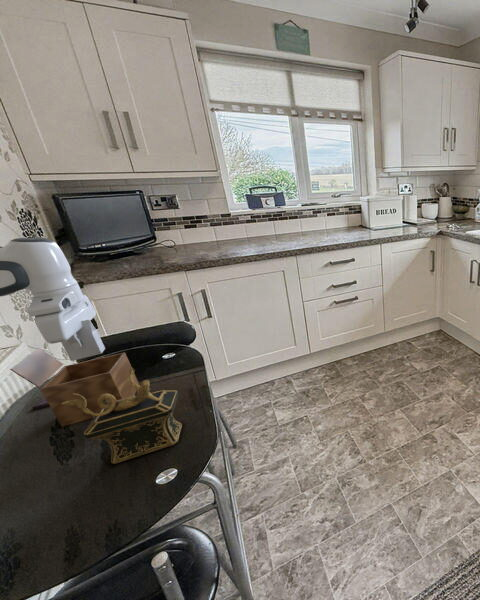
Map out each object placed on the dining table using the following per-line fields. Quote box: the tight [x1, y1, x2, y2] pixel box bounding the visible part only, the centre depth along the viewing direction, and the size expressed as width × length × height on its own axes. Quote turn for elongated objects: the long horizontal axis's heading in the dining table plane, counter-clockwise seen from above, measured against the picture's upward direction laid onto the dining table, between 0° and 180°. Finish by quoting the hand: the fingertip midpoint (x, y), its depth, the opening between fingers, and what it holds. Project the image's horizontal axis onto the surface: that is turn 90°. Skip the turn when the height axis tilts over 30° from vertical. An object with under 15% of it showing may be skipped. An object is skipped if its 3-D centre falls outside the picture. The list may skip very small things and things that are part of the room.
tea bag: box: [60, 320, 106, 362], centre depth 91 cm, size 4×7×10 cm, turn 118°
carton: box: [40, 352, 141, 428], centre depth 96 cm, size 15×13×12 cm
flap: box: [9, 347, 64, 388], centre depth 89 cm, size 7×13×1 cm
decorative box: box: [62, 367, 183, 465], centre depth 77 cm, size 20×10×20 cm, turn 114°
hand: (82, 343), depth 92 cm, fingers closed on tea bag, 4 cm apart
